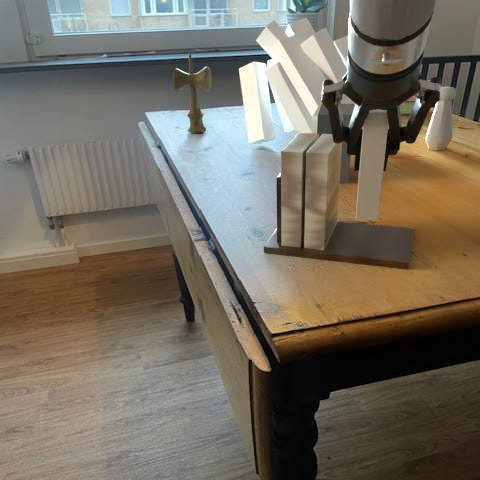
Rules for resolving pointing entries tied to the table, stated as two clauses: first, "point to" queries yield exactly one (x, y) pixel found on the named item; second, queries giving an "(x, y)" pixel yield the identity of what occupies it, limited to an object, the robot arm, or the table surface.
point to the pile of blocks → (291, 78)
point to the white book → (371, 165)
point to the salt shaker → (441, 121)
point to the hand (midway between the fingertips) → (370, 162)
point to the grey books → (325, 128)
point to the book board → (358, 245)
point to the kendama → (193, 92)
